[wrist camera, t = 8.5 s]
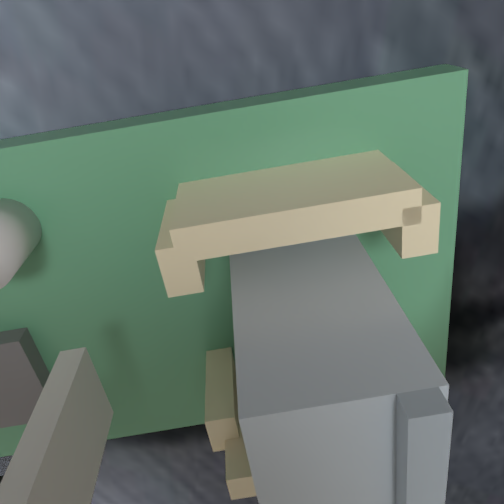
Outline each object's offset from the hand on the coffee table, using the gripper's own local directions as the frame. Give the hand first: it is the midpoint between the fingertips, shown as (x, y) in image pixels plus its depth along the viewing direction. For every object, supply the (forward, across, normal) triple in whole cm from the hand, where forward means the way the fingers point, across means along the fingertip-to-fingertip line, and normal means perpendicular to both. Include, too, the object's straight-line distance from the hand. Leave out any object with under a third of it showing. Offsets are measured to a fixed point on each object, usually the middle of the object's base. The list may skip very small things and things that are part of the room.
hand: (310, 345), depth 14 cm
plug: (+4, 0, 0) cm, 4 cm away
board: (+5, -6, 0) cm, 8 cm away
